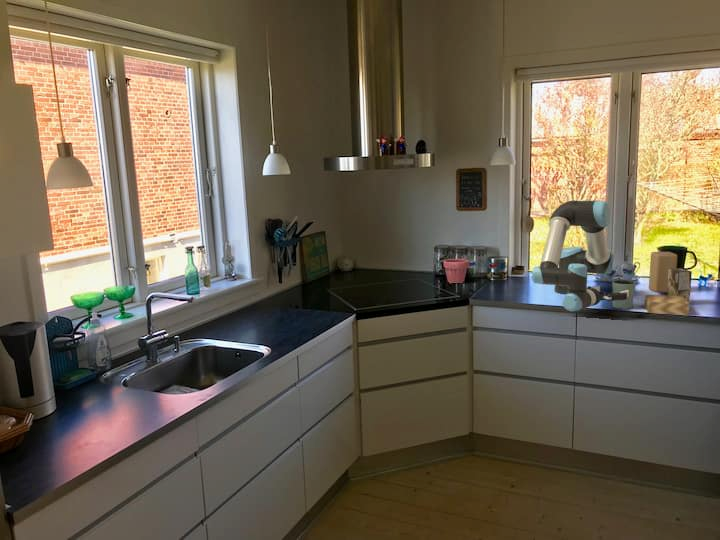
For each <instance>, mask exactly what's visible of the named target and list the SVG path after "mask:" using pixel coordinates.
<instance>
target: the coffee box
mask: <svg viewBox="0 0 720 540" xmlns="http://www.w3.org/2000/svg"><path fill="white" fill-rule="evenodd" d="M692 272H693V271H691V270H688V269H684V268H682V267H678V268H673V269H669V273H668V289H667V294H666V295H670V296H684V298H685V299H686V300H687V302H688V303H689V304H690V300H691V289H692V287H691V286H692V274H693V273H692Z"/></svg>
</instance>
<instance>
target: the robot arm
mask: <svg viewBox="0 0 720 540" xmlns="http://www.w3.org/2000/svg"><path fill="white" fill-rule="evenodd" d="M610 208H611V207H610V205H609V203H608V202H607V201H605V200H568V201H565V202H564V203H561V205H559V206H558V207H557V208H556V209H554V211H553V212H552V213H551V215H550V218H549V221H548V227H549V230H548V234H547V238H546V241H545V244H544V248H543V253H542V257H541V260H540V263H539V265H538V266H534V267H533V268H532V271H531V272H532V273H531V279H532V282H533V283H534V284H538V285H543V286H544V285H547V286H548V285H549V286H554V290H553V291H554V292H555V293H558V294H561V295H562V294H563V295H564V296H563V298H562V305H563V306H562V307H563V308H564V309H565V310H566V311H568V312H575V311H576V312H577V311H578V312H579V311H580V310H585V309H587V308H589V307H593V306H597V305H598V304H600V302H602V301H607V302H613V301H614V300H627V297H628V296H629V290H626V291H622V292H620V293H613V292H607V291H601V286H600V285H596V286H593V287H591V286H590V285H588V277H589V276H588V274H600V275H609V274H611V273H612V271H613V264H614V259H615V258H614V257H615V252H614V251H612V250H610V249H609V248H608V247H607V243H606V233H605V229H606V227H609V225H610V222H611V209H610ZM571 227H580V228H581V230H582V231H584V234H585V240H586V246H587V249H584V247H582V246H571V247H564V245H565V241H566V236H567V231H569V230H570V228H571Z"/></svg>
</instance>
